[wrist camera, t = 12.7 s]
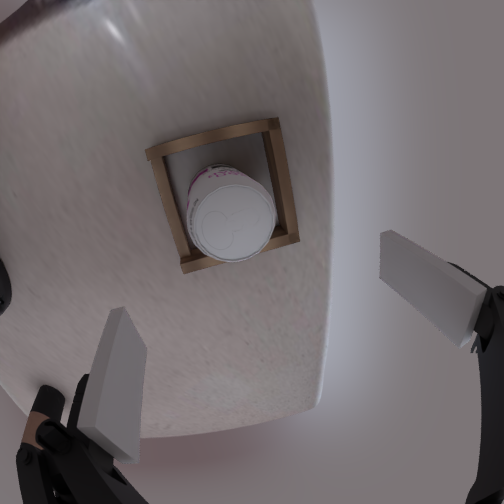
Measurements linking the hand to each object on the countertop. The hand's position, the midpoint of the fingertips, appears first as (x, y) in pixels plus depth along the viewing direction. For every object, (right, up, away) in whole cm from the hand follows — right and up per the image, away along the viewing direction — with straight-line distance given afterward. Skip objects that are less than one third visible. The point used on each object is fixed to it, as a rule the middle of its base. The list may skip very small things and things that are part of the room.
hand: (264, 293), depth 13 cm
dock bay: (-4, +10, +24) cm, 27 cm away
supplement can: (-5, +10, +24) cm, 27 cm away
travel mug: (-49, -32, +32) cm, 66 cm away
